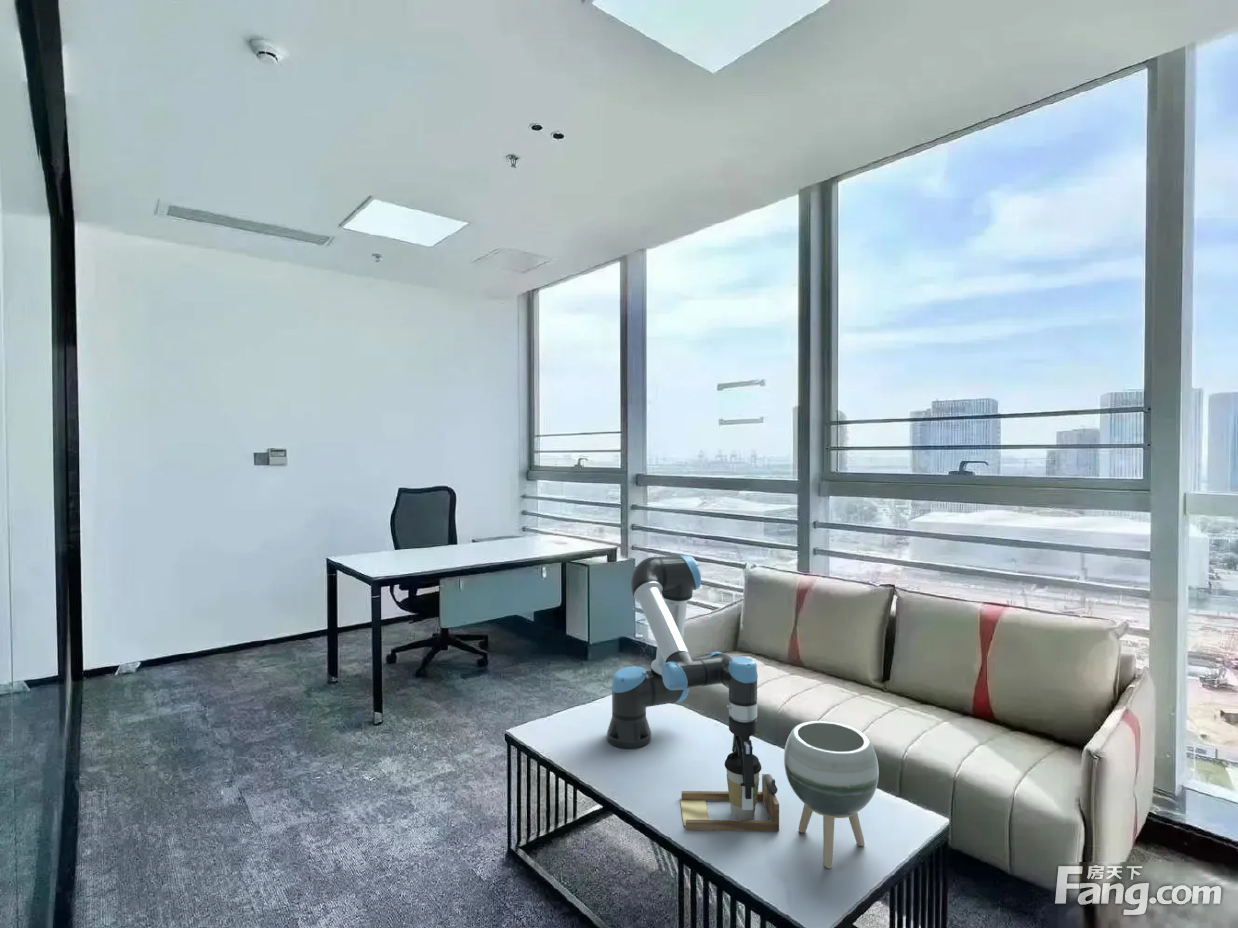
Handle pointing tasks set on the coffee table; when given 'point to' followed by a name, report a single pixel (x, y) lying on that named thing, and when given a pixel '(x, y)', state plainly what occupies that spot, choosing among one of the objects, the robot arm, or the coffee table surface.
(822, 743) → the planter
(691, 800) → the bay
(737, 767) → the coffee cup
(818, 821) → the coffee table surface
